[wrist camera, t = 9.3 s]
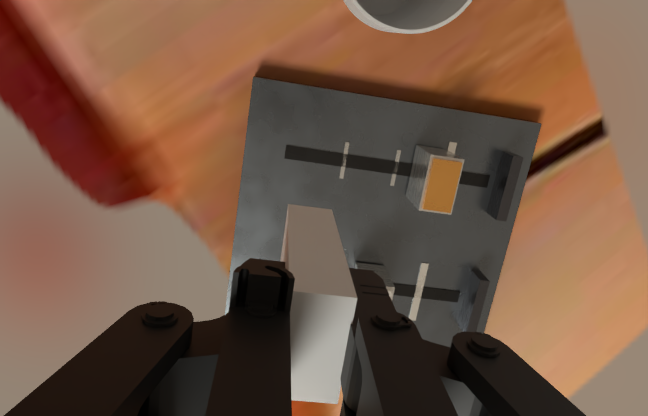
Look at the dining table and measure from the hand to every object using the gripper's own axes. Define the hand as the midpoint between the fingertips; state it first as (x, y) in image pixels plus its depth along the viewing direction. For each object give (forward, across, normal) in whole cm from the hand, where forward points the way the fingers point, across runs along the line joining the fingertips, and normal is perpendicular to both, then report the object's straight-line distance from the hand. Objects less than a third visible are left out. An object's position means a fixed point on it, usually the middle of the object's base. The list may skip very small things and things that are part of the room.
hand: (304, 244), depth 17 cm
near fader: (+21, +10, -1) cm, 23 cm away
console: (+22, +7, -6) cm, 24 cm away
